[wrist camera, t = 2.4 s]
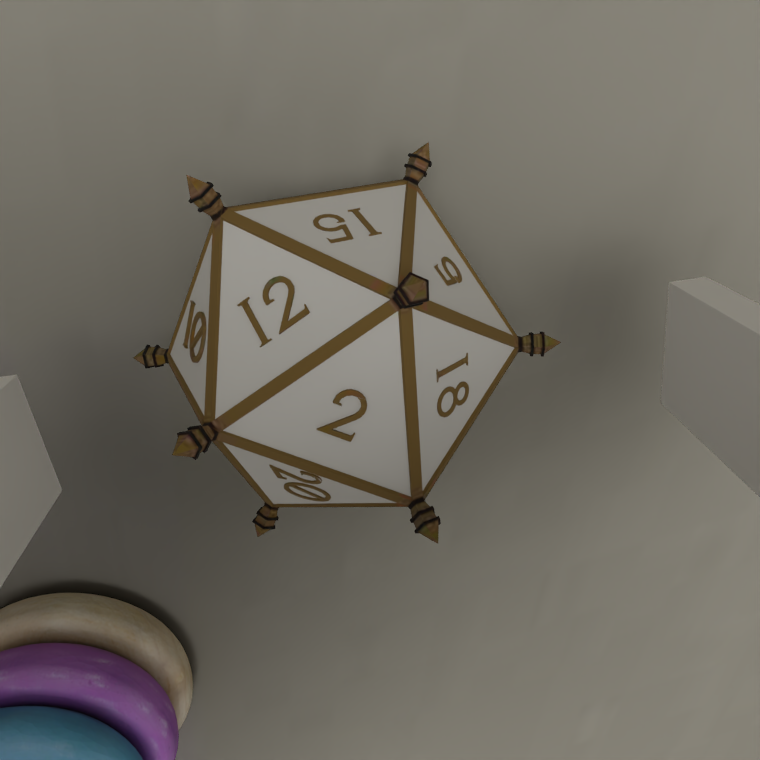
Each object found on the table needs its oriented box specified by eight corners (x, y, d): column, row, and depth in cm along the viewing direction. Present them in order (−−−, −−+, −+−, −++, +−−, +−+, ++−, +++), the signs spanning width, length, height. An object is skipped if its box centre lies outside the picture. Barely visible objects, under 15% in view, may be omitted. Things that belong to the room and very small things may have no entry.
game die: (380, 293, 23) (534, 553, 18) (125, 351, 20) (227, 686, 15) (443, 33, 16) (726, 348, 11) (56, 58, 12) (212, 520, 8)
